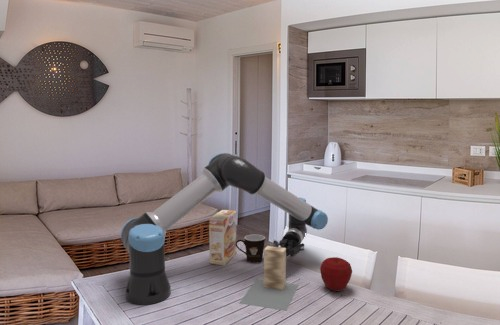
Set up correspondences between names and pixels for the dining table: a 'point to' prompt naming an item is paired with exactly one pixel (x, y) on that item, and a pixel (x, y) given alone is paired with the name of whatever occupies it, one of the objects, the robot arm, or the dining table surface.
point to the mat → (269, 296)
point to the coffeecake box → (222, 236)
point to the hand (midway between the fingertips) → (279, 259)
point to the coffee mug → (253, 247)
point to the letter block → (274, 267)
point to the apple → (335, 273)
